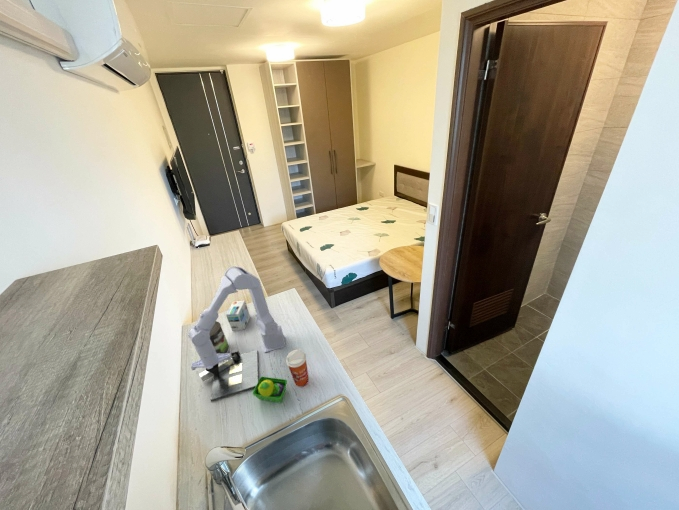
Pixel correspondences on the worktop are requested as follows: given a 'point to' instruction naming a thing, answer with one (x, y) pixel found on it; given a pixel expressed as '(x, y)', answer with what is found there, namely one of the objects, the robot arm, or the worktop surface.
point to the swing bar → (219, 367)
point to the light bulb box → (238, 315)
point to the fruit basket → (270, 389)
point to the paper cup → (298, 367)
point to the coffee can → (219, 339)
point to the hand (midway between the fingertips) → (217, 375)
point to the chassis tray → (236, 376)
